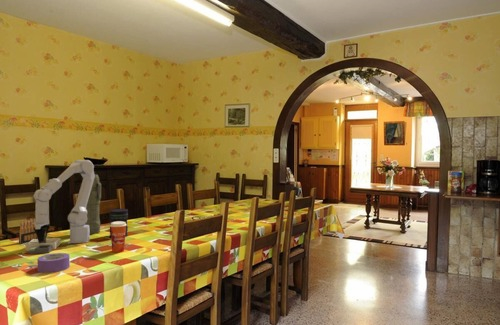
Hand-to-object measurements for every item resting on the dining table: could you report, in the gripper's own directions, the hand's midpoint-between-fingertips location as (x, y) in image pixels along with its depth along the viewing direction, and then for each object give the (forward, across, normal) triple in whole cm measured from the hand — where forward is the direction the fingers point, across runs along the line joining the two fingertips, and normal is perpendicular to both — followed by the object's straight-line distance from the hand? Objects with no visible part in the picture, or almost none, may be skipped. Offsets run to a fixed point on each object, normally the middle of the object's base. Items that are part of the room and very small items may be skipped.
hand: (42, 240), depth 179 cm
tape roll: (+4, +34, +14) cm, 37 cm away
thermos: (+4, -32, +18) cm, 37 cm away
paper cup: (+4, +12, +37) cm, 39 cm away
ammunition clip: (+4, -16, -10) cm, 19 cm away
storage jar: (+4, -21, +34) cm, 40 cm away
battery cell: (+2, 0, 0) cm, 2 cm away
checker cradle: (+4, +7, +1) cm, 8 cm away
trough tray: (+4, -2, 0) cm, 4 cm away
